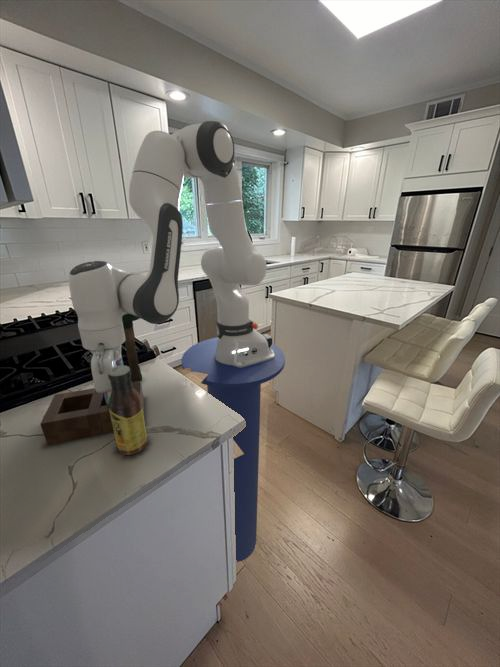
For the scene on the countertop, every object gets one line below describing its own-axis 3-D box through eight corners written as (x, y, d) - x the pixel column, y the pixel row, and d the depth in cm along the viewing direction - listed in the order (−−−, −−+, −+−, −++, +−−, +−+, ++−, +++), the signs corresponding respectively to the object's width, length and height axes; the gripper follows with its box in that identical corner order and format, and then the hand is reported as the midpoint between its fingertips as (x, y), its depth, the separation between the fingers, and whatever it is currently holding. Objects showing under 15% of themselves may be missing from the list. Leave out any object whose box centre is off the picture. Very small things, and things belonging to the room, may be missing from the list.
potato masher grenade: (115, 386, 84) (94, 288, 72) (134, 372, 91) (119, 282, 80) (138, 391, 81) (121, 291, 70) (156, 376, 89) (143, 284, 77)
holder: (143, 398, 78) (140, 380, 76) (143, 425, 68) (140, 405, 66) (60, 413, 72) (54, 394, 69) (47, 445, 62) (40, 423, 60)
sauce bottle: (116, 442, 63) (98, 365, 55) (144, 432, 66) (131, 358, 58) (120, 462, 58) (102, 381, 50) (151, 450, 61) (138, 372, 53)
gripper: (114, 353, 55) (125, 410, 60) (121, 320, 72) (129, 366, 78) (78, 358, 53) (93, 416, 58) (94, 322, 70) (105, 370, 76)
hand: (114, 387), depth 68 cm, fingers closed on spray can, 5 cm apart
